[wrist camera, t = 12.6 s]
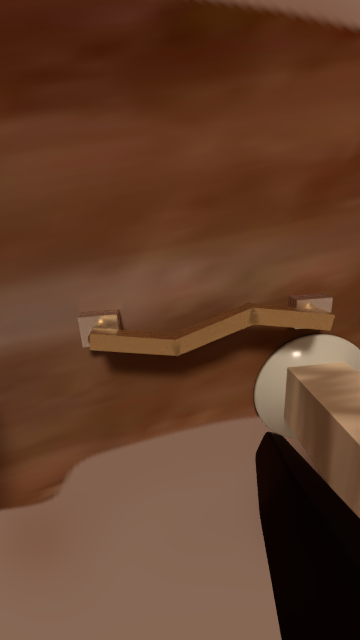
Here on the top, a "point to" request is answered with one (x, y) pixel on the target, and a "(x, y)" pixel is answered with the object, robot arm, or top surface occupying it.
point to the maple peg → (328, 423)
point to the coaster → (292, 355)
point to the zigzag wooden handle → (203, 326)
